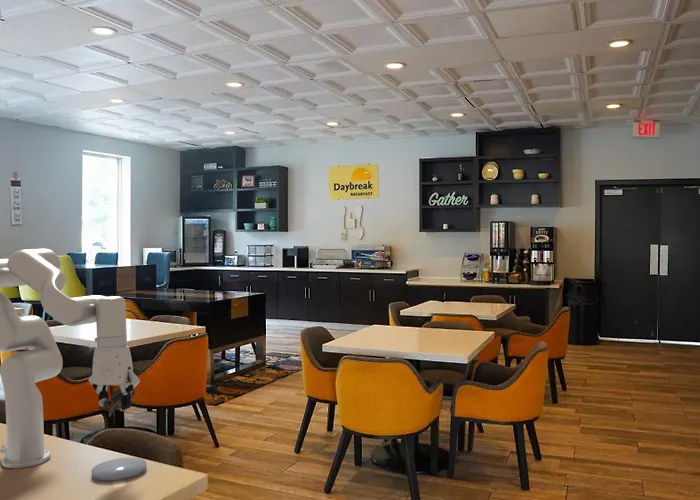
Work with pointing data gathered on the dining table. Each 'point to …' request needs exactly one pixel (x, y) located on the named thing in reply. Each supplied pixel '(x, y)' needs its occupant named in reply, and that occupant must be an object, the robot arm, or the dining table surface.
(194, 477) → the dining table surface
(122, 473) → the smooth grey pebble
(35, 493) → the dining table surface
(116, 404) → the eagle figurine
